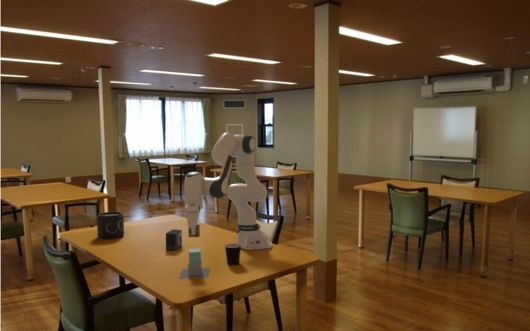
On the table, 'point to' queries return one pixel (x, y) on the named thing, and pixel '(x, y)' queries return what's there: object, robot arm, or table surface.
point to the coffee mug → (233, 253)
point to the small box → (173, 239)
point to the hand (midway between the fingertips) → (194, 232)
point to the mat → (203, 275)
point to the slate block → (194, 268)
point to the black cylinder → (110, 225)
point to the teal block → (194, 256)
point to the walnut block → (195, 230)
